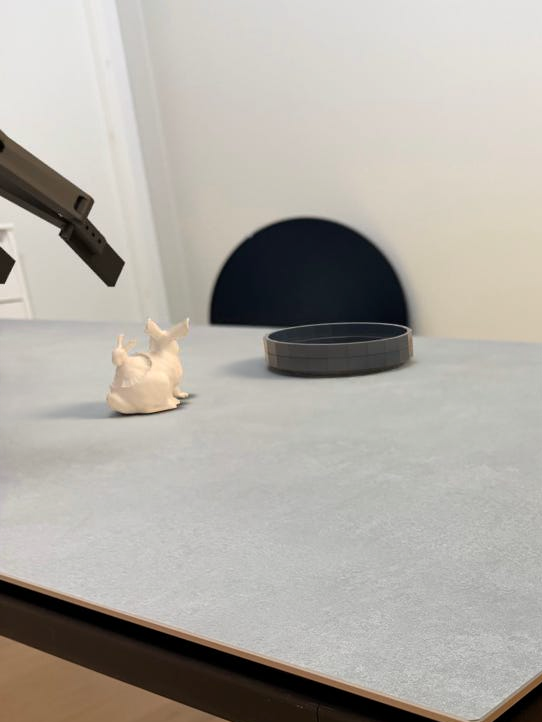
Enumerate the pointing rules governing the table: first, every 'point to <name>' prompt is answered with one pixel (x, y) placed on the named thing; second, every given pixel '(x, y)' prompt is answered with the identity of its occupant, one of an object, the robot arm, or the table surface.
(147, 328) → the rabbit figurine
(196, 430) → the table surface
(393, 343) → the bowl
